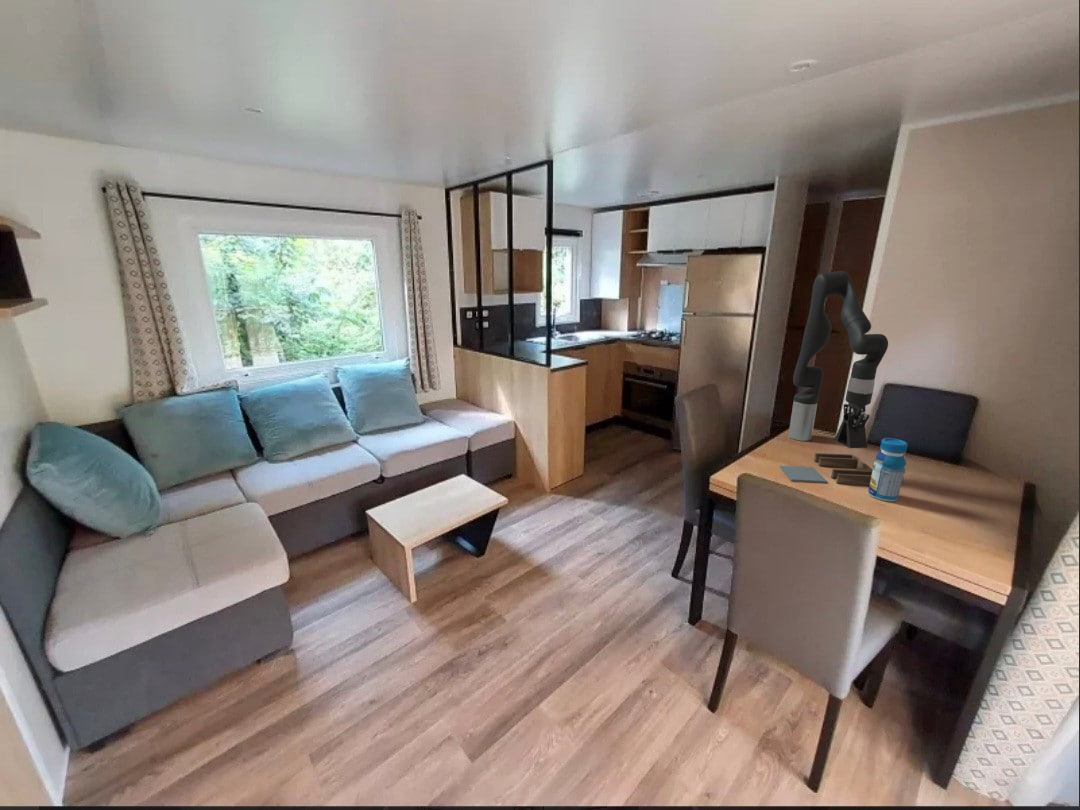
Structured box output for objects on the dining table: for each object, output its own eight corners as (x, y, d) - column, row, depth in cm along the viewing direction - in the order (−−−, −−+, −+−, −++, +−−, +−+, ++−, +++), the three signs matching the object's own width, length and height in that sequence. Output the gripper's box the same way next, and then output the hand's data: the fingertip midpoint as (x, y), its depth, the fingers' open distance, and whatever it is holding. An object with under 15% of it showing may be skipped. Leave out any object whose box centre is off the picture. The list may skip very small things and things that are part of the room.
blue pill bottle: (887, 504, 144) (900, 447, 138) (861, 493, 151) (872, 439, 145) (904, 499, 147) (917, 443, 141) (877, 488, 154) (889, 435, 148)
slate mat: (779, 467, 172) (779, 465, 172) (812, 469, 170) (813, 467, 170) (791, 481, 161) (791, 479, 160) (826, 483, 159) (827, 481, 158)
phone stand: (834, 440, 167) (838, 410, 164) (849, 439, 167) (854, 409, 164) (850, 448, 159) (855, 416, 155) (866, 448, 159) (872, 416, 155)
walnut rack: (813, 461, 177) (815, 453, 176) (852, 462, 175) (853, 454, 174) (837, 483, 158) (839, 474, 157) (880, 485, 156) (882, 476, 155)
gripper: (839, 384, 164) (831, 427, 169) (858, 395, 151) (849, 441, 156) (861, 385, 163) (852, 428, 168) (882, 395, 150) (872, 442, 155)
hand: (851, 434), depth 162 cm, fingers closed on phone stand, 3 cm apart
